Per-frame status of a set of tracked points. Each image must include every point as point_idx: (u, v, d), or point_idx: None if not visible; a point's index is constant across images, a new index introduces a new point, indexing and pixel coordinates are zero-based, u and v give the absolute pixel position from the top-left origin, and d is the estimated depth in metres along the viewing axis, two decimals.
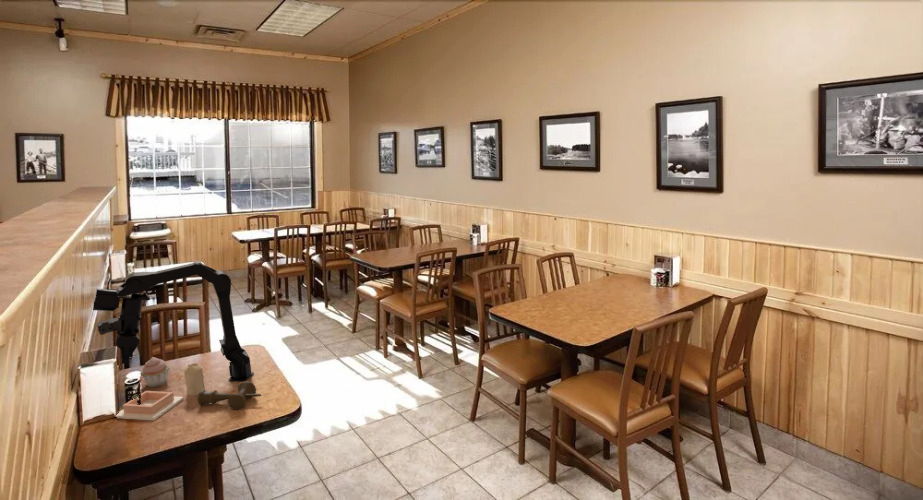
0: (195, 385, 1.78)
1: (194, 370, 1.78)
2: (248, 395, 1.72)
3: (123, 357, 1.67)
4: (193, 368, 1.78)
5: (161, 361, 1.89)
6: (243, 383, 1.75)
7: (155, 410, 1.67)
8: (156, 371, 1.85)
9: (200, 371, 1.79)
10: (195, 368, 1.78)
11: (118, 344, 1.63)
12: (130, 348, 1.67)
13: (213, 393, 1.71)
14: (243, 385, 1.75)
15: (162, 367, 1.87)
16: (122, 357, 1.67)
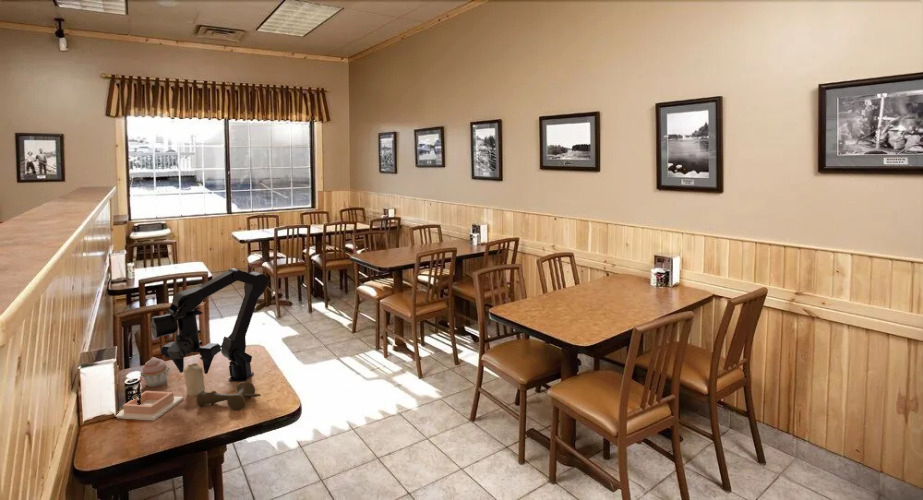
0: (195, 385, 1.78)
1: (194, 370, 1.78)
2: (247, 395, 1.72)
3: (206, 368, 1.79)
4: (193, 368, 1.78)
5: (161, 361, 1.89)
6: (242, 383, 1.75)
7: (155, 410, 1.67)
8: (156, 371, 1.85)
9: (200, 371, 1.79)
10: (195, 368, 1.78)
11: (212, 355, 1.75)
12: (210, 357, 1.79)
13: (212, 394, 1.71)
14: (242, 385, 1.74)
15: (162, 367, 1.87)
16: (206, 368, 1.78)
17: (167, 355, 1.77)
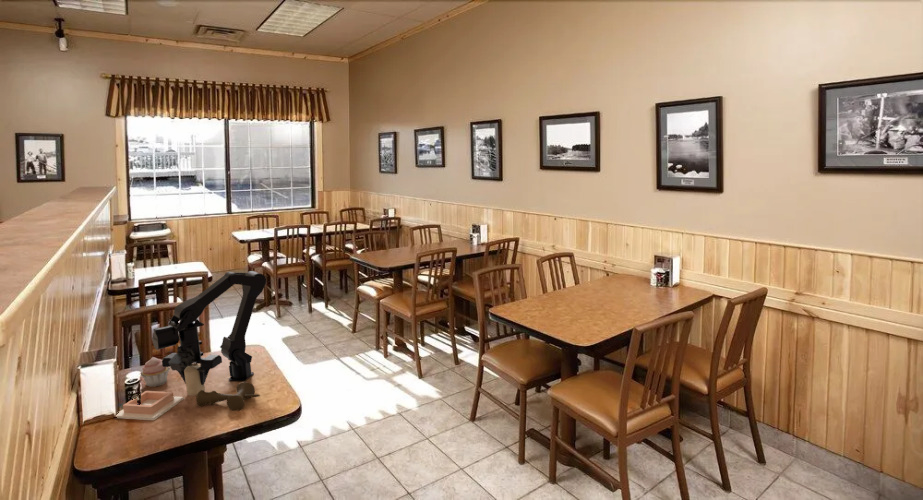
0: (195, 385, 1.78)
1: (194, 370, 1.78)
2: (247, 395, 1.72)
3: (203, 379, 1.80)
4: (193, 368, 1.78)
5: (161, 361, 1.89)
6: (242, 383, 1.75)
7: (155, 410, 1.67)
8: (156, 371, 1.85)
9: None
10: (195, 368, 1.78)
11: (213, 367, 1.76)
12: None
13: (212, 393, 1.71)
14: (242, 385, 1.74)
15: (162, 367, 1.87)
16: (203, 379, 1.79)
17: (168, 366, 1.77)
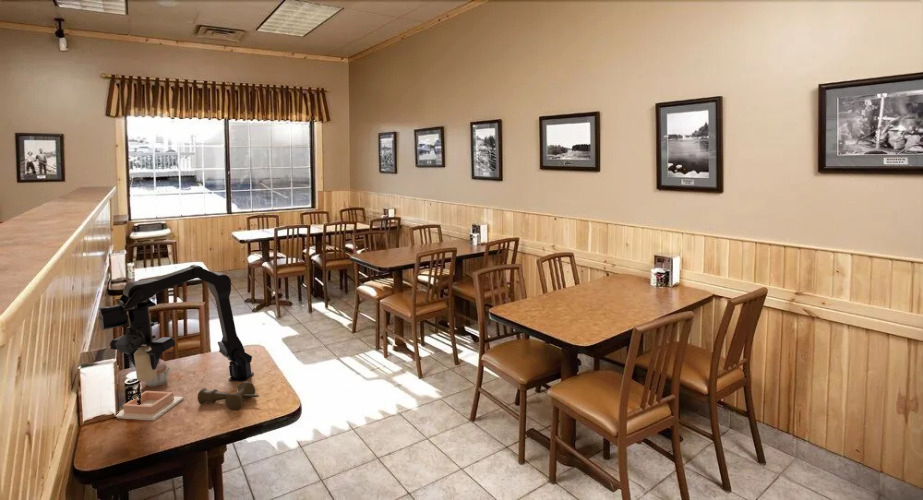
0: (146, 369, 1.66)
1: (144, 353, 1.66)
2: (246, 395, 1.72)
3: (154, 363, 1.68)
4: (143, 351, 1.66)
5: (161, 361, 1.89)
6: (242, 383, 1.75)
7: (155, 410, 1.67)
8: (156, 371, 1.85)
9: None
10: (146, 351, 1.66)
11: (164, 350, 1.64)
12: (158, 352, 1.68)
13: (212, 392, 1.72)
14: (242, 385, 1.75)
15: (162, 367, 1.87)
16: (154, 363, 1.67)
17: (117, 349, 1.66)
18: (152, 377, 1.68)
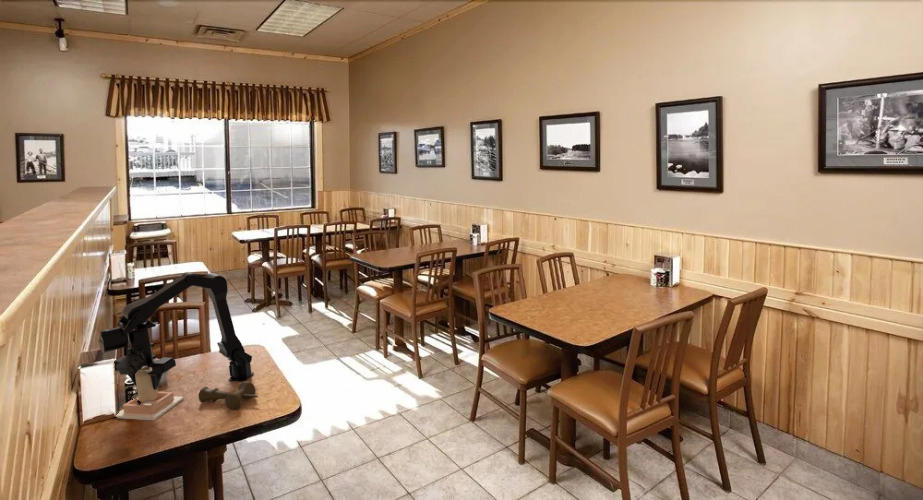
0: (147, 390, 1.67)
1: (146, 374, 1.67)
2: (245, 395, 1.72)
3: (156, 383, 1.69)
4: (144, 372, 1.67)
5: None
6: (243, 383, 1.75)
7: (155, 410, 1.67)
8: None
9: None
10: (147, 372, 1.67)
11: (165, 370, 1.65)
12: None
13: (213, 391, 1.73)
14: (243, 385, 1.75)
15: None
16: (155, 383, 1.68)
17: (118, 370, 1.66)
18: (154, 397, 1.69)
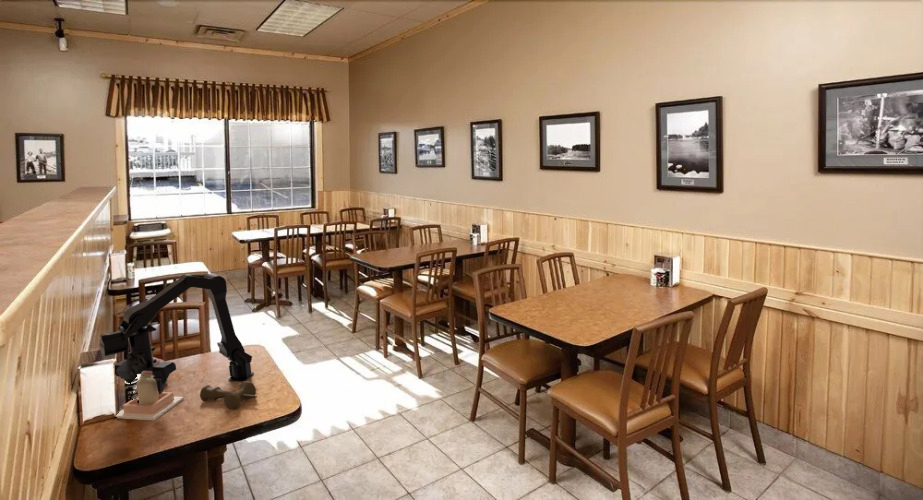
0: (148, 398, 1.68)
1: (147, 382, 1.67)
2: (245, 395, 1.72)
3: (161, 387, 1.69)
4: (146, 380, 1.68)
5: (161, 361, 1.89)
6: (244, 383, 1.76)
7: (155, 410, 1.67)
8: None
9: (154, 383, 1.69)
10: (148, 380, 1.68)
11: (165, 375, 1.65)
12: (164, 376, 1.69)
13: (214, 390, 1.74)
14: (243, 385, 1.75)
15: None
16: (160, 388, 1.68)
17: (118, 374, 1.67)
18: None
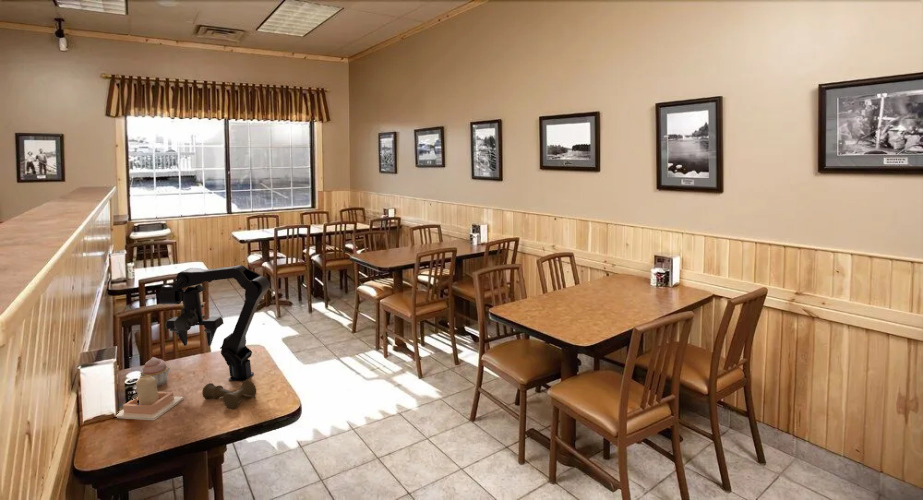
0: (148, 398, 1.68)
1: (146, 382, 1.67)
2: (244, 395, 1.72)
3: (210, 340, 1.90)
4: (145, 380, 1.68)
5: (161, 361, 1.89)
6: (244, 382, 1.76)
7: (155, 410, 1.67)
8: (156, 371, 1.85)
9: (153, 383, 1.69)
10: (148, 380, 1.68)
11: (216, 327, 1.87)
12: (213, 330, 1.91)
13: (216, 388, 1.75)
14: (244, 384, 1.75)
15: (162, 367, 1.87)
16: (210, 340, 1.90)
17: (172, 328, 1.88)
18: None
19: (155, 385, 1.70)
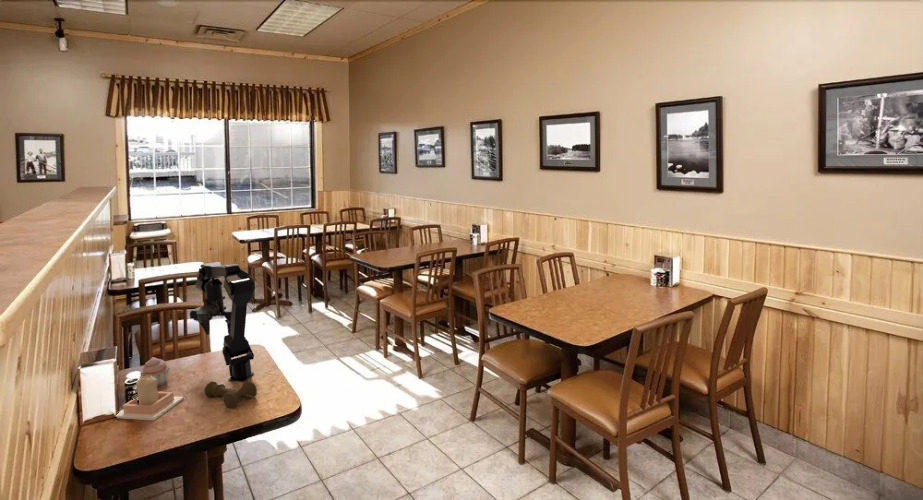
0: (148, 398, 1.68)
1: (147, 382, 1.67)
2: (244, 395, 1.72)
3: None
4: (146, 380, 1.68)
5: (161, 361, 1.89)
6: (245, 382, 1.76)
7: (155, 410, 1.67)
8: (156, 371, 1.85)
9: (153, 383, 1.69)
10: (148, 380, 1.68)
11: None
12: None
13: (217, 387, 1.76)
14: (244, 384, 1.75)
15: (162, 367, 1.87)
16: None
17: (195, 318, 1.99)
18: None
19: (155, 385, 1.70)
